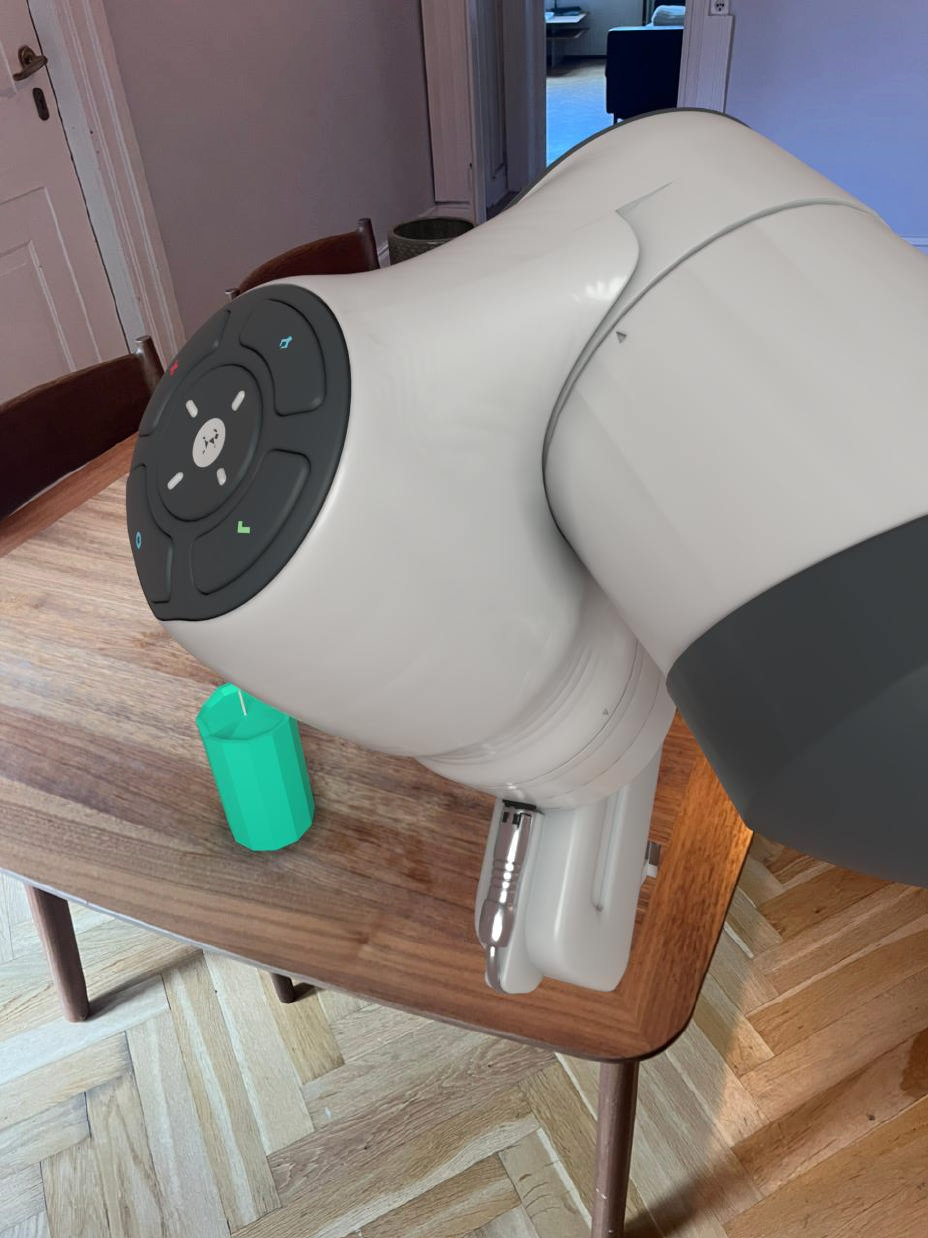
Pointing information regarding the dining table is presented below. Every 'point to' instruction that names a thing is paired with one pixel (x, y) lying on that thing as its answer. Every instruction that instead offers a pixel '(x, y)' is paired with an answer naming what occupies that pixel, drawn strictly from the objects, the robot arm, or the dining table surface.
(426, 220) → the planter
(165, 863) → the dining table surface
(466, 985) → the dining table surface
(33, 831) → the dining table surface
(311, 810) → the candle
